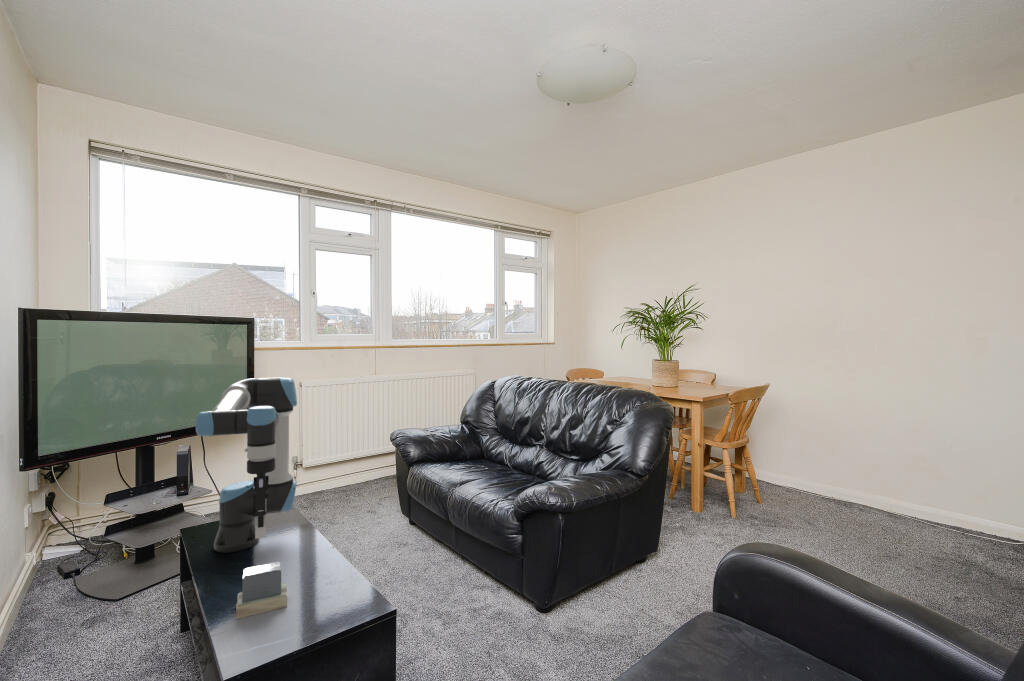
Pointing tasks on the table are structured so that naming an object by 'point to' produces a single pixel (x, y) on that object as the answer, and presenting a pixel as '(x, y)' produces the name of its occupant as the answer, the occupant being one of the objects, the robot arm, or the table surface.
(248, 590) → the housing
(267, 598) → the stand
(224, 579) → the table surface
